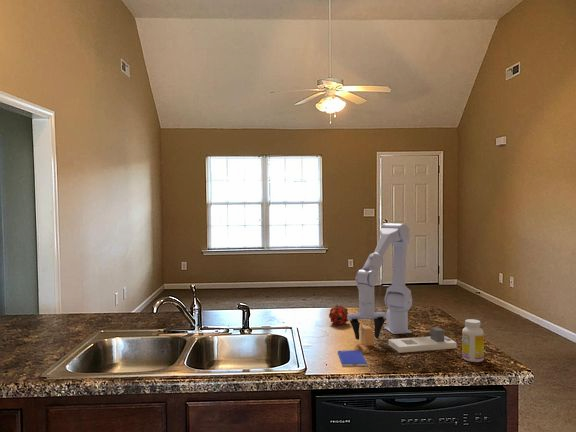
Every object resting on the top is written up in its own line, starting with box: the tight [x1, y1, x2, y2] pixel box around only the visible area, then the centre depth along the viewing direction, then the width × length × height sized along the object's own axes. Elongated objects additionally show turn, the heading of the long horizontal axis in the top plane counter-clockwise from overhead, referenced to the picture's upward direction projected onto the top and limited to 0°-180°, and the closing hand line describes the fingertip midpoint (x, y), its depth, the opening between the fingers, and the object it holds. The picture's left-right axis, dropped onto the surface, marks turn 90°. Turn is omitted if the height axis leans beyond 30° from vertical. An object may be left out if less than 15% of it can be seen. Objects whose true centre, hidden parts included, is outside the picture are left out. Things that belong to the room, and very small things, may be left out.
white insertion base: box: [388, 326, 458, 354], centre depth 164 cm, size 9×22×6 cm, turn 101°
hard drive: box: [337, 349, 368, 367], centre depth 152 cm, size 2×8×12 cm
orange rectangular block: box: [360, 325, 374, 346], centre depth 169 cm, size 4×3×6 cm, turn 11°
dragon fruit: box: [328, 304, 350, 327], centre depth 196 cm, size 8×8×12 cm
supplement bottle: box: [461, 318, 485, 363], centre depth 150 cm, size 7×7×13 cm
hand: (367, 338), depth 169 cm, fingers open, 7 cm apart
